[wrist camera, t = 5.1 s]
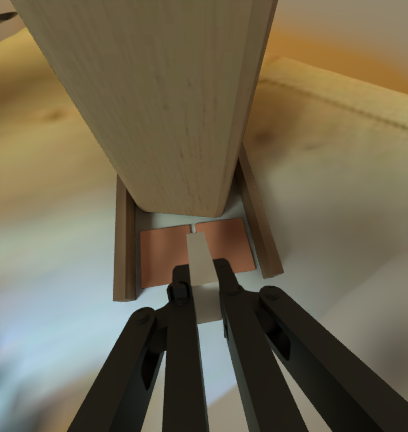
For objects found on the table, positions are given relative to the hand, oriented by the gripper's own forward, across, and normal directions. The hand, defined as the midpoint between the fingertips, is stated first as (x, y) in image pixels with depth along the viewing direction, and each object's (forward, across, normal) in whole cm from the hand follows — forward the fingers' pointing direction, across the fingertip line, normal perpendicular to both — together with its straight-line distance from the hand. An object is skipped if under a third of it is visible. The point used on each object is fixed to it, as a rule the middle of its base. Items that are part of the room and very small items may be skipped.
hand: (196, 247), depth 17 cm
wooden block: (+10, 0, +4) cm, 11 cm away
